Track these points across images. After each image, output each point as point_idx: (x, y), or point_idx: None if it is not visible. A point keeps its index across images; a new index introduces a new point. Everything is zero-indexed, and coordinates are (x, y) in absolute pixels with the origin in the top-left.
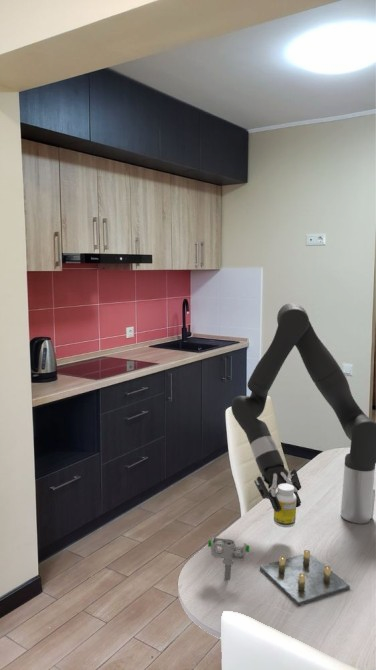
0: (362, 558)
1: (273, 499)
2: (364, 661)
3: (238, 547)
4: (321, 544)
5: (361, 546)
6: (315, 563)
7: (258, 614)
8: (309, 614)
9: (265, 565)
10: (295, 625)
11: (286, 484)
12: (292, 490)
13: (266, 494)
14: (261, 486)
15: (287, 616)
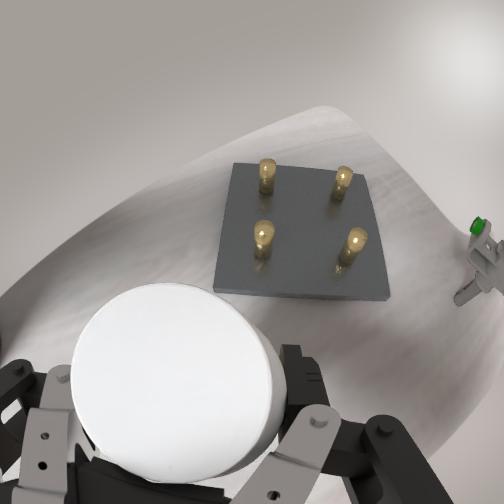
0: (109, 224)
1: (320, 403)
2: (329, 106)
3: (489, 255)
4: None
5: (66, 257)
6: (237, 241)
7: (429, 199)
8: (352, 163)
9: (376, 293)
10: (384, 161)
11: (106, 423)
12: (156, 285)
13: (395, 424)
14: (438, 487)
15: (388, 176)
